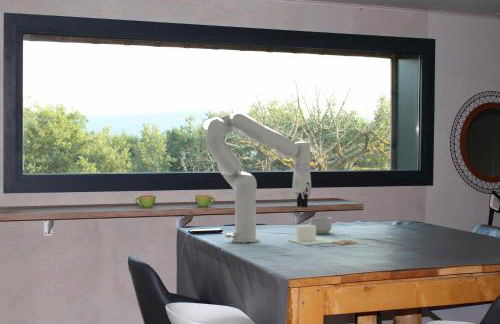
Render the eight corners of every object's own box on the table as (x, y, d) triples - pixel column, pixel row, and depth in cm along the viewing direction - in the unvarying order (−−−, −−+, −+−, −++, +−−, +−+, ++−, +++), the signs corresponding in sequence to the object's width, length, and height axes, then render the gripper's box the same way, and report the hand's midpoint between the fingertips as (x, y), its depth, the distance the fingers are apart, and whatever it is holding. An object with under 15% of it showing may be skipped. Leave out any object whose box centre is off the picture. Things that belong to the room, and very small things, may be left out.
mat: (306, 245, 298) (306, 244, 298) (287, 240, 312) (287, 239, 312) (340, 242, 306) (339, 241, 306) (320, 237, 320) (320, 237, 320)
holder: (338, 244, 298) (338, 242, 298) (332, 243, 302) (332, 241, 302) (357, 243, 302) (357, 241, 302) (351, 242, 306) (351, 239, 306)
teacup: (324, 235, 328) (324, 219, 328) (305, 233, 335) (305, 217, 335) (338, 232, 339) (338, 216, 339) (320, 230, 346) (320, 215, 346)
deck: (299, 241, 307) (299, 226, 307) (296, 240, 309) (296, 226, 309) (315, 239, 311) (315, 225, 311) (313, 239, 313) (313, 225, 313)
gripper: (286, 167, 322) (286, 205, 323) (304, 168, 308) (304, 208, 308) (299, 167, 326) (300, 205, 326) (318, 168, 311) (318, 208, 312)
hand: (302, 206), depth 317 cm, fingers open, 3 cm apart
